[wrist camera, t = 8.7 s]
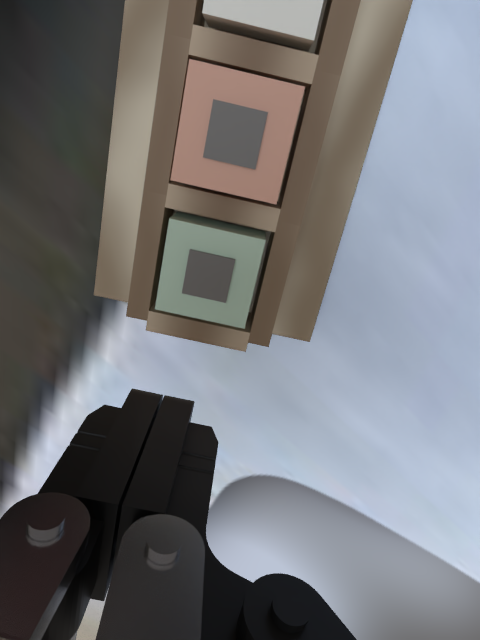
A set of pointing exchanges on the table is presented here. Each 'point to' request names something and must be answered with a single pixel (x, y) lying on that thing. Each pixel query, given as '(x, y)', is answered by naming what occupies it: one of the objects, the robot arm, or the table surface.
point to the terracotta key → (235, 131)
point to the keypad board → (275, 219)
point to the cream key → (267, 19)
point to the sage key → (209, 269)
